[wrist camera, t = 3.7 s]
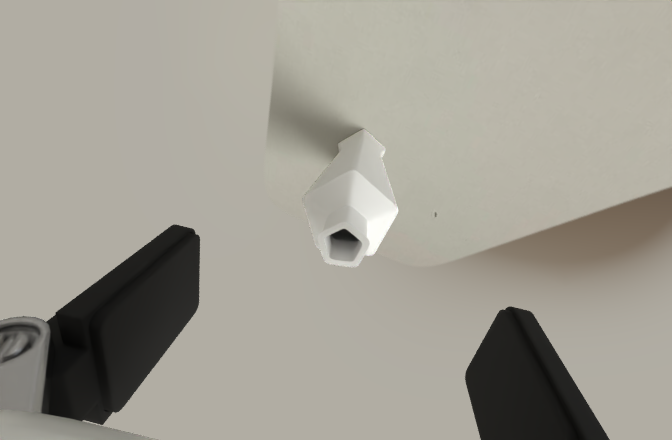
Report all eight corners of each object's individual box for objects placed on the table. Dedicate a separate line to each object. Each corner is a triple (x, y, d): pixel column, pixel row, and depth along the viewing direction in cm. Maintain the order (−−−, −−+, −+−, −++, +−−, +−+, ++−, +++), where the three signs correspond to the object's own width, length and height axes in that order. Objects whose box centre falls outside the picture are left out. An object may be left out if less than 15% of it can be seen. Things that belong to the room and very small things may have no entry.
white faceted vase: (393, 127, 25) (410, 199, 12) (385, 180, 27) (391, 293, 14) (335, 121, 26) (288, 184, 12) (331, 174, 28) (286, 278, 14)
